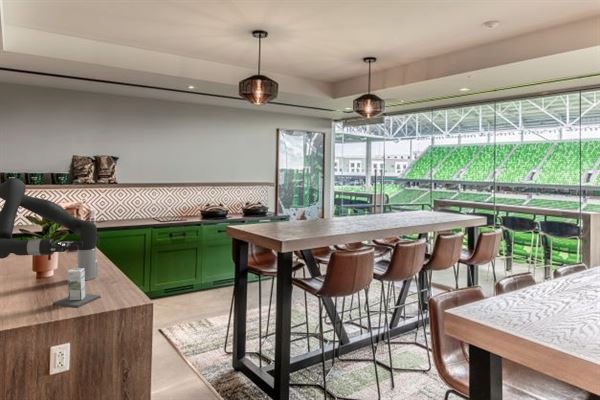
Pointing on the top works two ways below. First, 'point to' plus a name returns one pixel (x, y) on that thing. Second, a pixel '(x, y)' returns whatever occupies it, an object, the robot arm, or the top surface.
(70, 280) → the syrup box
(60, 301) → the charcoal mat
